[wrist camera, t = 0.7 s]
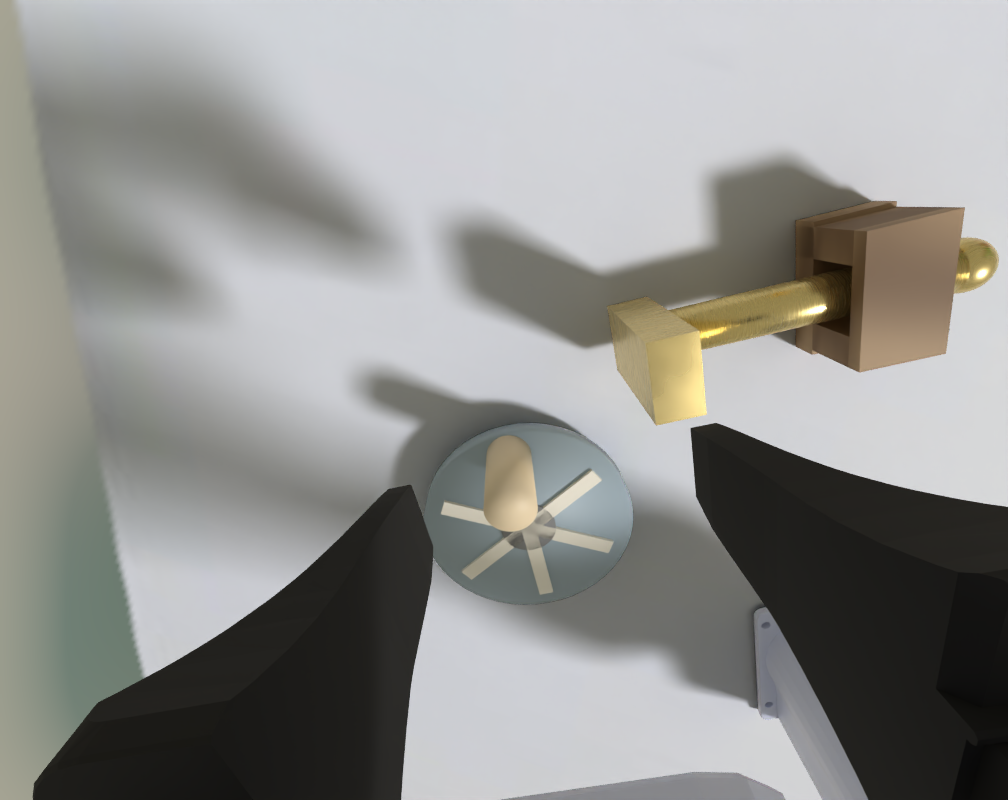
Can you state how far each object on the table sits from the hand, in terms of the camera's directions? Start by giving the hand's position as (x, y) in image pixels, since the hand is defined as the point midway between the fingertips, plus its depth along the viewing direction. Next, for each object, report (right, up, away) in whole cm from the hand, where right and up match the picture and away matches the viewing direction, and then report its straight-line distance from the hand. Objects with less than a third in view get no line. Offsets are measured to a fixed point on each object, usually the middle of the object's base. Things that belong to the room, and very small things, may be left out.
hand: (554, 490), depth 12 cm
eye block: (+13, +7, +8) cm, 17 cm away
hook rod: (+10, +6, +7) cm, 14 cm away
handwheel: (0, -3, +12) cm, 12 cm away
